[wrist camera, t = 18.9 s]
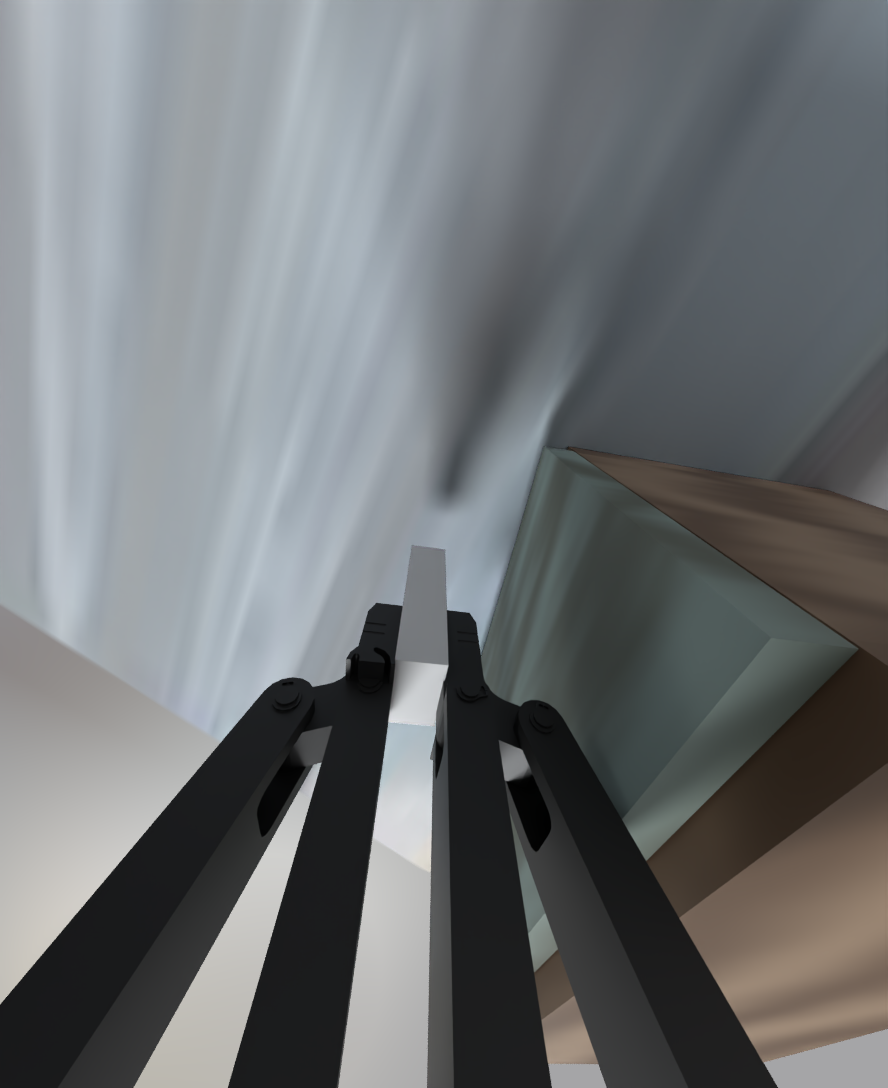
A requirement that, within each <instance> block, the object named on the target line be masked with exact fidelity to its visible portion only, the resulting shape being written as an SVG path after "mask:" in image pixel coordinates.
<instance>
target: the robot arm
mask: <svg viewBox="0 0 888 1088" xmlns="http://www.w3.org/2000/svg"><path fill="white" fill-rule="evenodd" d="M477 634H478V633H477V626H476V622H475V620H474V619H473V617H472V616H471V615H470V613H466V612H457V611H448V610H447V600H446V565H445V549H437V548H430V547H422V546H415V545H412V547H411V554H410V561H409V568H408V574H407V581H406V588H405V595H404V601H403V606H398V605H390V604H381V603H376V604H375V605H374V606H373V607H372V608H371V609H370V610H369V611H368V614H367V618H366V621H365V625H364V628H363V633H362V635H361V639H360V643H359V646H358V647H356V648H355V649H354V650H352V651H351V652H350V653H349V655H348V657H347V659H346V676H344V677H343V678H342V679H340V680H338V681H336V682H334V683H330V684H326V685H321V686H315V687H312V686H311V684H310V683H309V682H307V681H306V680H304V679H301V678H293V677H292V678H287V679H282V680H280V681H278V682H275V683H273V684H272V685H271V686H269V687H268V688H267V689H266V690H265V691H264V692H263V693H262V694H261V696H260V697H259V698H258V699H257V700H256V701H255V703H254V704H253V705H252V706H251V707H250V709H249V710H248V711H247V712H246V713H245V715H244V716H243V717H242V718H241V719H240V720H239V722H238V723H237V724H236V725H235V726H234V728H233V729H232V730H231V731H230V732H229V734H228V735H227V736H226V737H225V738H224V739H223V741H222V742H221V743H220V744H219V746H218V747H217V748H216V749H215V750H214V751H213V753H212V754H211V755H210V756H209V757H208V759H207V760H206V761H205V762H204V763H203V764H202V766H201V767H200V768H199V769H198V770H197V772H196V773H195V774H194V775H193V777H191V779H190V780H189V781H188V782H187V783H186V785H185V786H184V787H183V788H182V789H181V791H180V792H179V793H178V794H177V795H176V796H175V798H174V799H173V800H172V801H171V803H170V804H169V805H168V806H167V807H166V808H165V810H164V811H163V812H162V813H161V814H160V815H159V817H158V818H157V819H156V820H155V821H154V823H153V824H152V825H151V826H150V827H149V829H148V830H147V831H146V832H145V833H144V834H143V836H142V837H141V838H140V839H139V840H138V842H137V843H136V844H135V845H134V846H133V848H132V849H131V850H130V851H129V852H128V854H127V855H126V856H125V857H124V858H123V859H122V861H121V862H120V863H119V864H118V866H117V867H116V868H115V869H114V870H113V871H112V872H111V874H110V875H109V876H108V877H107V878H106V880H105V881H104V882H103V883H102V884H101V886H100V887H99V888H98V889H97V890H96V891H95V893H94V894H93V895H92V896H91V897H90V899H89V900H88V901H87V902H86V903H85V905H84V906H83V907H82V908H81V909H80V911H79V912H78V913H77V914H76V915H75V916H74V918H73V919H72V920H71V921H70V922H69V924H68V925H67V926H66V927H65V928H64V930H63V931H62V932H61V933H60V934H59V935H58V937H57V938H56V939H55V940H54V941H53V943H52V944H51V945H50V946H49V947H48V948H47V950H46V951H45V952H44V954H42V956H41V957H40V958H39V959H38V960H37V962H36V963H35V964H34V965H33V966H32V968H31V969H30V970H29V971H28V972H27V973H26V975H25V976H24V977H23V978H22V979H21V981H20V982H19V983H18V984H17V985H16V986H15V988H14V989H13V990H12V991H11V992H10V994H9V995H8V996H7V997H6V998H5V1000H4V1001H3V1002H2V1003H1V1004H0V1088H133V1087H134V1086H135V1084H136V1082H137V1080H138V1078H139V1077H140V1075H141V1073H142V1071H143V1069H144V1068H145V1066H146V1064H147V1062H148V1060H149V1059H150V1057H151V1055H152V1053H153V1051H154V1050H155V1048H156V1046H157V1044H158V1043H159V1041H160V1039H161V1037H162V1035H163V1033H164V1032H165V1030H166V1028H167V1026H168V1025H169V1023H170V1021H171V1019H172V1017H173V1016H174V1014H175V1012H176V1010H177V1008H178V1006H179V1005H180V1003H181V1001H182V999H183V998H184V996H185V994H186V992H187V990H188V989H189V987H190V985H191V983H192V981H193V980H194V978H195V976H196V974H197V972H198V971H199V969H200V967H201V965H202V964H203V962H204V960H205V958H206V956H207V955H208V953H209V951H210V949H211V947H212V945H213V944H214V942H215V940H216V938H217V937H218V935H219V933H220V931H221V929H222V928H223V926H224V924H225V922H226V921H227V919H228V917H229V915H230V913H231V911H232V910H233V908H234V906H235V904H236V903H237V901H238V899H239V897H240V895H241V894H242V892H243V890H244V888H245V886H246V885H247V883H248V881H249V879H250V877H251V875H252V874H253V872H254V870H255V868H256V867H257V865H258V863H259V861H260V859H261V857H262V856H263V854H264V852H265V851H266V849H267V847H268V845H269V843H270V842H271V840H272V838H273V836H274V834H275V833H276V831H277V829H278V827H279V825H280V824H281V822H282V820H283V818H284V816H285V815H286V813H287V811H288V809H289V807H290V805H291V804H292V802H293V800H294V798H295V797H296V795H297V793H298V791H299V790H300V788H301V786H302V784H303V782H304V781H305V779H306V777H307V775H308V773H309V772H310V770H311V768H312V766H313V764H317V763H321V762H322V763H321V767H320V770H319V774H318V777H317V781H316V784H315V788H314V791H313V795H312V798H311V802H310V805H309V809H308V812H307V816H306V819H305V823H304V826H303V829H302V833H301V836H300V840H299V843H298V847H297V850H296V854H295V857H294V861H293V864H292V867H291V871H290V875H289V878H288V881H287V885H286V888H285V892H284V895H283V899H282V902H281V906H280V909H279V912H278V916H277V919H276V923H275V926H274V930H273V933H272V937H271V940H270V944H269V947H268V950H267V954H266V957H265V961H264V964H263V968H262V972H261V975H260V979H259V982H258V985H257V989H256V992H255V996H254V999H253V1002H252V1006H251V1010H250V1013H249V1016H248V1020H247V1023H246V1027H245V1030H244V1034H243V1037H242V1041H241V1044H240V1048H239V1051H238V1054H237V1058H236V1061H235V1065H234V1068H233V1072H232V1076H231V1079H230V1082H229V1086H228V1088H338V1084H339V1077H340V1069H341V1062H342V1055H343V1048H344V1039H345V1033H346V1025H347V1019H348V1012H349V1004H350V997H351V990H352V982H353V975H354V968H355V961H356V953H357V946H358V939H359V932H360V925H361V917H362V910H363V903H364V895H365V888H366V881H367V873H368V867H369V859H370V852H371V845H372V837H373V830H374V823H375V816H376V808H377V801H378V794H379V787H380V779H381V772H382V765H383V758H384V750H385V743H386V735H387V728H388V722H390V723H402V724H413V725H424V726H435V722H436V735H435V739H434V744H433V748H432V752H431V757H430V759H431V760H433V794H432V849H431V905H430V960H429V963H430V965H429V1016H428V1017H429V1018H428V1073H427V1074H428V1075H427V1088H552V1086H551V1080H550V1073H549V1067H548V1060H547V1053H546V1047H545V1040H544V1033H543V1027H542V1020H541V1014H540V1007H539V1001H538V994H537V988H536V981H535V975H534V968H533V961H532V955H531V948H530V942H529V935H528V929H527V922H526V916H525V909H524V903H523V896H522V890H521V883H520V876H519V870H518V863H517V857H516V850H515V844H514V837H513V831H512V824H511V818H510V814H511V817H512V820H513V823H514V826H515V828H516V831H517V834H518V837H519V840H520V843H521V845H522V848H523V851H524V854H525V857H526V860H527V862H528V865H529V868H530V871H531V874H532V877H533V880H534V882H535V885H536V888H537V891H538V894H539V897H540V899H541V902H542V905H543V908H544V911H545V914H546V916H547V919H548V922H549V925H550V928H551V931H552V933H553V936H554V939H555V942H556V945H557V948H558V950H559V953H560V956H561V959H562V962H563V965H564V968H565V970H566V973H567V976H568V979H569V982H570V985H571V987H572V990H573V993H574V996H575V999H576V1002H577V1004H578V1007H579V1010H580V1013H581V1016H582V1019H583V1021H584V1024H585V1027H586V1030H587V1033H588V1036H589V1038H590V1041H591V1044H592V1047H593V1050H594V1053H595V1056H596V1058H597V1061H598V1064H599V1067H600V1070H601V1073H602V1075H603V1078H604V1081H605V1084H606V1086H607V1088H778V1087H777V1085H776V1084H775V1082H774V1081H773V1078H772V1077H771V1075H770V1073H769V1072H768V1070H767V1068H766V1066H765V1065H764V1063H763V1061H762V1059H761V1058H760V1056H759V1054H758V1053H757V1051H756V1049H755V1047H754V1046H753V1044H752V1042H751V1041H750V1039H749V1037H748V1035H747V1034H746V1032H745V1030H744V1029H743V1027H742V1025H741V1023H740V1022H739V1020H738V1018H737V1016H736V1015H735V1013H734V1011H733V1010H732V1008H731V1006H730V1004H729V1003H728V1001H727V999H726V998H725V996H724V994H723V992H722V991H721V989H720V987H719V986H718V984H717V982H716V980H715V979H714V977H713V975H712V973H711V972H710V970H709V968H708V967H707V965H706V963H705V961H704V960H703V958H702V956H701V955H700V953H699V951H698V949H697V948H696V946H695V944H694V943H693V941H692V939H691V937H690V936H689V934H688V932H687V930H686V929H685V927H684V925H683V924H682V922H681V920H680V918H679V917H678V915H677V913H676V912H675V910H674V908H673V906H672V905H671V903H670V901H669V900H668V898H667V896H666V894H665V893H664V891H663V889H662V888H661V886H660V884H659V882H658V881H657V879H656V877H655V875H654V874H653V872H652V870H651V869H650V867H649V865H648V863H647V862H646V860H645V858H644V857H643V855H642V853H641V851H640V850H639V848H638V846H637V845H636V843H635V841H634V839H633V838H632V836H631V834H630V832H629V831H628V829H627V827H626V826H625V824H624V822H623V820H622V819H621V817H620V815H619V814H618V812H617V810H616V808H615V807H614V805H613V803H612V802H611V800H610V798H609V796H608V795H607V793H606V791H605V789H604V788H603V786H602V784H601V783H600V781H599V779H598V777H597V776H596V774H595V772H594V771H593V769H592V767H591V765H590V764H589V762H588V760H587V759H586V757H585V755H584V753H583V752H582V750H581V748H580V746H579V745H578V743H577V741H576V740H575V738H574V736H573V734H572V733H571V731H570V729H569V728H568V726H567V724H566V722H565V721H564V719H563V717H562V716H561V715H560V714H559V712H558V711H557V710H556V709H555V708H553V707H552V706H551V705H549V704H548V703H545V702H543V701H540V700H529V701H526V702H524V703H523V704H522V705H521V706H518V705H515V704H513V703H510V702H508V701H505V700H503V699H501V698H500V697H498V696H497V695H495V694H494V693H493V692H492V691H491V690H490V688H489V686H488V685H487V684H486V683H485V680H484V676H483V669H482V662H481V655H480V647H479V640H478V636H477Z"/></svg>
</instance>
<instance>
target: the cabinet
mask: <svg viewBox="0 0 888 1088" xmlns="http://www.w3.org/2000/svg"><path fill="white" fill-rule="evenodd" d="M567 450H569V451H574V452H576V453H577V454H578V455H580V456H581V457H583V458H584V459H586V460H587V461H589V462H590V463H591V464H593V465H594V466H596V467H597V468H599V469H600V470H601V471H603V472H604V473H606V474H607V475H609V476H610V477H612V478H613V479H614V480H616V481H617V482H619V483H620V484H622V485H623V486H625V487H626V488H627V489H629V490H630V491H632V492H633V493H635V494H636V495H638V496H639V497H640V498H642V499H643V500H645V501H646V502H648V503H649V504H651V505H652V506H653V507H655V508H656V509H658V510H659V511H661V512H662V513H664V514H665V515H666V516H668V517H669V518H671V519H672V520H674V521H675V522H677V523H678V524H679V525H681V526H682V527H684V528H685V529H687V530H688V531H690V532H691V533H692V534H694V535H695V536H697V537H698V538H700V539H701V540H702V541H704V542H705V543H707V544H708V545H710V546H711V547H713V548H714V549H715V550H717V551H718V552H720V553H721V554H723V555H724V556H726V557H727V558H728V559H730V560H731V561H733V562H734V563H736V564H737V565H739V566H740V567H741V568H743V569H744V570H746V571H747V572H749V573H750V574H752V575H753V576H754V577H756V578H757V579H759V580H760V581H762V582H763V583H765V584H766V585H767V586H769V587H770V588H772V589H773V590H775V591H776V592H778V593H779V594H780V595H782V596H783V597H785V598H786V599H788V600H789V601H791V602H792V603H793V604H795V605H796V606H798V607H799V608H801V609H802V610H803V611H805V612H806V613H808V614H809V615H811V616H812V617H814V618H815V619H816V620H818V621H819V622H821V623H822V624H824V625H825V626H827V627H828V628H829V629H831V630H832V631H834V632H835V633H837V634H838V635H840V636H841V637H842V638H844V639H845V640H847V641H848V642H850V643H851V644H853V645H854V646H855V647H857V648H858V650H857V651H856V652H855V653H854V654H853V655H852V656H851V657H850V658H849V659H848V660H847V661H846V662H845V663H844V664H843V665H842V666H841V667H840V668H839V669H838V670H837V671H836V672H835V673H834V674H833V675H832V676H831V677H830V678H829V679H828V680H827V681H826V682H825V683H824V684H823V685H822V686H821V687H820V688H819V689H818V690H817V691H816V692H815V693H814V694H813V695H812V696H811V697H810V698H809V699H808V700H807V701H806V702H805V703H804V704H803V705H802V706H801V707H800V708H799V709H798V710H797V711H796V712H795V713H794V714H793V715H792V716H791V717H790V718H789V719H788V720H787V721H786V722H785V723H784V724H783V725H782V726H781V727H780V728H779V729H778V730H777V731H776V732H775V733H774V734H773V735H772V736H771V737H770V738H769V739H768V740H767V741H766V742H765V743H764V744H763V745H762V746H761V747H760V748H759V749H758V750H757V751H756V752H755V753H754V754H753V755H752V756H751V757H750V758H749V759H748V760H747V761H746V762H745V763H744V764H743V765H742V766H741V767H740V768H739V769H738V770H737V771H736V772H735V773H734V774H733V775H732V776H731V777H730V778H729V779H728V780H727V781H726V782H725V783H724V784H723V785H722V786H721V787H720V788H719V789H718V790H717V791H716V792H715V793H714V794H713V795H712V796H711V797H710V798H709V799H708V800H707V801H706V802H705V803H704V804H703V805H702V806H701V807H700V808H699V809H698V810H697V811H696V812H695V813H694V814H693V815H692V816H691V817H690V818H689V819H688V820H687V821H686V822H685V823H684V824H683V825H682V826H681V827H680V828H679V829H678V830H677V831H676V832H675V833H674V834H673V835H672V836H671V837H670V838H669V839H668V840H667V841H666V842H665V843H664V844H663V845H662V846H661V847H660V848H659V849H658V850H657V851H656V852H655V853H654V854H653V855H652V856H651V857H650V858H649V859H648V860H647V861H646V862H647V863H648V865H649V867H650V869H651V870H652V872H653V874H654V875H655V877H656V879H657V881H658V882H659V884H660V886H661V888H662V889H663V891H664V893H665V894H666V896H667V898H668V900H669V901H670V903H671V905H672V906H673V908H674V910H675V912H676V913H677V915H678V917H679V918H680V920H681V922H682V924H683V925H684V927H685V929H686V930H687V932H688V934H689V936H690V937H691V939H692V941H693V943H694V944H695V946H696V948H697V949H698V951H699V953H700V955H701V956H702V958H703V960H704V961H705V963H706V965H707V967H708V968H709V970H710V972H711V973H712V975H713V977H714V979H715V980H716V982H717V984H718V986H719V987H720V989H721V991H722V992H723V994H724V996H725V998H726V999H727V1001H728V1003H729V1004H730V1006H731V1008H732V1010H733V1011H734V1013H735V1015H736V1016H737V1018H738V1020H739V1022H740V1023H741V1025H742V1027H743V1029H744V1030H745V1032H746V1034H747V1035H748V1037H749V1039H750V1041H751V1042H752V1044H753V1046H754V1047H755V1049H756V1051H757V1053H758V1054H759V1056H760V1058H761V1059H762V1061H763V1062H766V1061H770V1060H774V1059H777V1058H781V1057H785V1056H789V1055H792V1054H796V1053H800V1052H804V1051H807V1050H811V1049H815V1048H818V1047H822V1046H826V1045H829V1044H833V1043H837V1042H841V1041H844V1040H848V1039H851V1038H855V1037H859V1036H862V1035H866V1034H870V1033H874V1032H877V1031H881V1030H885V1029H888V511H887V510H884V509H881V508H878V507H876V506H873V505H870V504H867V503H864V502H861V501H858V500H855V499H852V498H849V497H846V496H843V495H840V494H837V493H834V492H831V491H828V490H822V489H816V488H810V487H804V486H798V485H792V484H786V483H780V482H775V481H769V480H763V479H757V478H751V477H745V476H739V475H733V474H727V473H721V472H715V471H710V470H704V469H698V468H692V467H686V466H680V465H674V464H668V463H662V462H656V461H650V460H645V459H639V458H633V457H627V456H621V455H615V454H609V453H603V452H597V451H591V450H585V449H580V448H574V447H568V449H567ZM534 975H535V981H536V988H537V994H538V1001H539V1007H540V1014H541V1020H542V1027H543V1033H544V1040H545V1047H546V1053H547V1060H548V1064H598V1061H597V1058H596V1056H595V1053H594V1050H593V1047H592V1044H591V1041H590V1038H589V1036H588V1033H587V1030H586V1027H585V1024H584V1021H583V1019H582V1016H581V1013H580V1010H579V1007H578V1004H577V1002H576V999H575V996H574V993H573V990H572V987H571V985H570V982H569V979H568V976H567V973H566V970H565V968H564V965H563V962H562V959H561V956H560V953H559V950H558V949H557V950H556V951H555V952H554V953H553V954H552V955H551V956H550V957H549V958H548V959H547V960H546V961H545V962H544V963H543V964H542V965H541V966H540V967H539V968H538V969H537V970H536V971H535V972H534Z"/></svg>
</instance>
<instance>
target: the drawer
mask: <svg viewBox="0 0 888 1088" xmlns="http://www.w3.org/2000/svg"><path fill="white" fill-rule="evenodd" d="M857 650H858V648H857V647H855V646H854V645H853V644H851V643H850V642H848V641H847V640H845V639H844V638H842V637H841V636H840V635H838V634H837V633H835V632H834V631H832V630H831V629H829V628H828V627H827V626H825V625H824V624H822V623H821V622H819V621H818V620H816V619H815V618H814V617H812V616H811V615H809V614H808V613H806V612H805V611H803V610H802V609H801V608H799V607H798V606H796V605H795V604H793V603H792V602H791V601H789V600H788V599H786V598H785V597H783V596H782V595H780V594H779V593H778V592H776V591H775V590H773V589H772V588H770V587H769V586H767V585H766V584H765V583H763V582H762V581H760V580H759V579H757V578H756V577H754V576H753V575H752V574H750V573H749V572H747V571H746V570H744V569H743V568H741V567H740V566H739V565H737V564H736V563H734V562H733V561H731V560H730V559H728V558H727V557H726V556H724V555H723V554H721V553H720V552H718V551H717V550H715V549H714V548H713V547H711V546H710V545H708V544H707V543H705V542H704V541H702V540H701V539H700V538H698V537H697V536H695V535H694V534H692V533H691V532H690V531H688V530H687V529H685V528H684V527H682V526H681V525H679V524H678V523H677V522H675V521H674V520H672V519H671V518H669V517H668V516H666V515H665V514H664V513H662V512H661V511H659V510H658V509H656V508H655V507H653V506H652V505H651V504H649V503H648V502H646V501H645V500H643V499H642V498H640V497H639V496H638V495H636V494H635V493H633V492H632V491H630V490H629V489H627V488H626V487H625V486H623V485H622V484H620V483H619V482H617V481H616V480H614V479H613V478H612V477H610V476H609V475H607V474H606V473H604V472H603V471H601V470H600V469H599V468H597V467H596V466H594V465H593V464H591V463H590V462H589V461H587V460H586V459H584V458H583V457H581V456H580V455H578V454H577V453H576V452H574V451H569V450H563V449H557V448H551V447H545V446H544V448H543V451H542V455H541V458H540V461H539V465H538V468H537V471H536V475H535V478H534V481H533V485H532V488H531V492H530V495H529V498H528V502H527V505H526V508H525V512H524V515H523V518H522V522H521V525H520V529H519V532H518V535H517V539H516V542H515V545H514V549H513V552H512V555H511V559H510V562H509V566H508V569H507V572H506V576H505V579H504V582H503V586H502V589H501V592H500V596H499V599H498V603H497V606H496V609H495V613H494V616H493V619H492V623H491V626H490V629H489V633H488V636H487V640H486V643H485V646H484V650H483V653H482V656H481V662H482V669H483V676H484V680H485V683H486V684H487V685H488V686H489V688H490V690H491V691H492V692H493V693H494V694H495V695H497V696H498V697H500V698H501V699H503V700H505V701H508V702H510V703H513V704H515V705H518V706H521V705H522V704H523V703H524V702H526V701H529V700H540V701H543V702H545V703H548V704H549V705H551V706H552V707H553V708H555V709H556V710H557V711H558V712H559V714H560V715H561V716H562V717H563V719H564V721H565V722H566V724H567V726H568V728H569V729H570V731H571V733H572V734H573V736H574V738H575V740H576V741H577V743H578V745H579V746H580V748H581V750H582V752H583V753H584V755H585V757H586V759H587V760H588V762H589V764H590V765H591V767H592V769H593V771H594V772H595V774H596V776H597V777H598V779H599V781H600V783H601V784H602V786H603V788H604V789H605V791H606V793H607V795H608V796H609V798H610V800H611V802H612V803H613V805H614V807H615V808H616V810H617V812H618V814H619V815H620V817H621V819H622V820H623V822H624V824H625V826H626V827H627V829H628V831H629V832H630V834H631V836H632V838H633V839H634V841H635V843H636V845H637V846H638V848H639V850H640V851H641V853H642V855H643V857H644V858H645V860H646V861H647V860H648V859H649V858H650V857H651V856H652V855H653V854H654V853H655V852H656V851H657V850H658V849H659V848H660V847H661V846H662V845H663V844H664V843H665V842H666V841H667V840H668V839H669V838H670V837H671V836H672V835H673V834H674V833H675V832H676V831H677V830H678V829H679V828H680V827H681V826H682V825H683V824H684V823H685V822H686V821H687V820H688V819H689V818H690V817H691V816H692V815H693V814H694V813H695V812H696V811H697V810H698V809H699V808H700V807H701V806H702V805H703V804H704V803H705V802H706V801H707V800H708V799H709V798H710V797H711V796H712V795H713V794H714V793H715V792H716V791H717V790H718V789H719V788H720V787H721V786H722V785H723V784H724V783H725V782H726V781H727V780H728V779H729V778H730V777H731V776H732V775H733V774H734V773H735V772H736V771H737V770H738V769H739V768H740V767H741V766H742V765H743V764H744V763H745V762H746V761H747V760H748V759H749V758H750V757H751V756H752V755H753V754H754V753H755V752H756V751H757V750H758V749H759V748H760V747H761V746H762V745H763V744H764V743H765V742H766V741H767V740H768V739H769V738H770V737H771V736H772V735H773V734H774V733H775V732H776V731H777V730H778V729H779V728H780V727H781V726H782V725H783V724H784V723H785V722H786V721H787V720H788V719H789V718H790V717H791V716H792V715H793V714H794V713H795V712H796V711H797V710H798V709H799V708H800V707H801V706H802V705H803V704H804V703H805V702H806V701H807V700H808V699H809V698H810V697H811V696H812V695H813V694H814V693H815V692H816V691H817V690H818V689H819V688H820V687H821V686H822V685H823V684H824V683H825V682H826V681H827V680H828V679H829V678H830V677H831V676H832V675H833V674H834V673H835V672H836V671H837V670H838V669H839V668H840V667H841V666H842V665H843V664H844V663H845V662H846V661H847V660H848V659H849V658H850V657H851V656H852V655H853V654H854V653H855V652H856V651H857ZM510 818H511V824H512V831H513V837H514V844H515V850H516V857H517V863H518V870H519V876H520V883H521V890H522V896H523V903H524V909H525V916H526V922H527V929H528V935H529V942H530V948H531V955H532V961H533V968H534V972H535V971H536V970H537V969H538V968H539V967H540V966H541V965H542V964H543V963H544V962H545V961H546V960H547V959H548V958H549V957H550V956H551V955H552V954H553V953H554V952H555V951H556V950H557V949H558V948H557V945H556V942H555V939H554V936H553V933H552V931H551V928H550V925H549V922H548V919H547V916H546V914H545V911H544V908H543V905H542V902H541V899H540V897H539V894H538V891H537V888H536V885H535V882H534V880H533V877H532V874H531V871H530V868H529V865H528V862H527V860H526V857H525V854H524V851H523V848H522V845H521V843H520V840H519V837H518V834H517V831H516V828H515V826H514V823H513V820H512V817H511V814H510Z"/></svg>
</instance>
